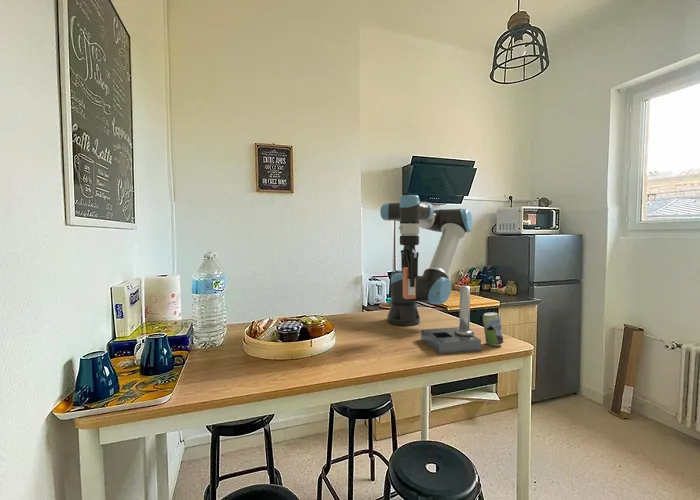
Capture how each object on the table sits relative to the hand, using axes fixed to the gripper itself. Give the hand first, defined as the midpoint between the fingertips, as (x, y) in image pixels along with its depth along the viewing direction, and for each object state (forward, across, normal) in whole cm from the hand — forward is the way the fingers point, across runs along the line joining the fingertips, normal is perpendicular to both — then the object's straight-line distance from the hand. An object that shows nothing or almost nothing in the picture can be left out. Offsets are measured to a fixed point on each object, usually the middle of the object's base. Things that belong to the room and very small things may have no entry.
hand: (409, 293), depth 138 cm
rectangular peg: (+2, 0, 0) cm, 2 cm away
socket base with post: (+18, +11, +12) cm, 24 cm away
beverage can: (+18, +14, +28) cm, 36 cm away
